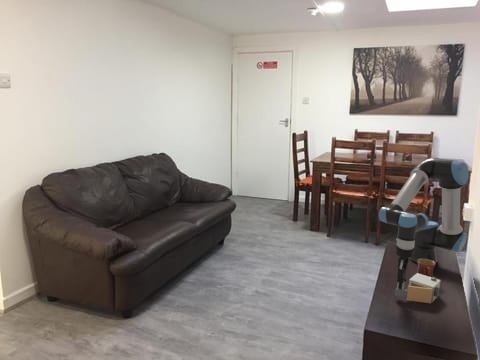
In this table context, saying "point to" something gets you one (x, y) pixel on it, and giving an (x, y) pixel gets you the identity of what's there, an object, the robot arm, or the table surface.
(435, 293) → the housing
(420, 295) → the door
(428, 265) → the mug
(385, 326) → the table surface
